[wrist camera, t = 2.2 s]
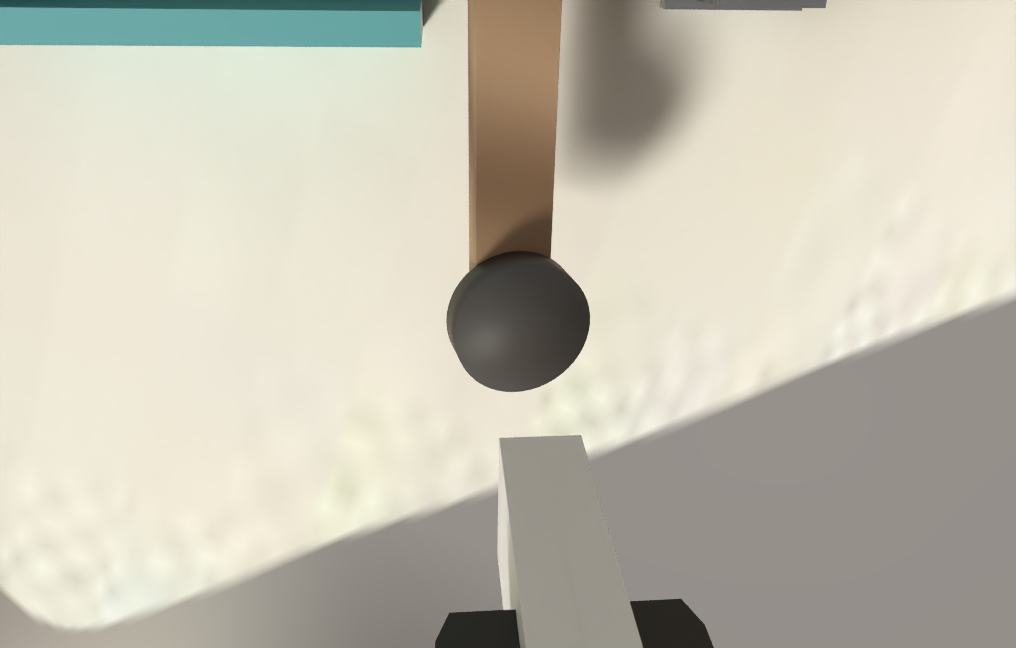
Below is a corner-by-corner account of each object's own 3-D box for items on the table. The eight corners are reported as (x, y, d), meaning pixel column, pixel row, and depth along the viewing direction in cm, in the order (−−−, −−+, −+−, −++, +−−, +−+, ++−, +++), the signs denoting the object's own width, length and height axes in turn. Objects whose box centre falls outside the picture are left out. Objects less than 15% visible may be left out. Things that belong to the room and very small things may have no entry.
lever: (410, -415, 15) (453, -499, 12) (1073, -327, 20) (1226, -372, 17) (433, 348, 23) (463, 415, 20) (907, 288, 27) (992, 335, 24)
